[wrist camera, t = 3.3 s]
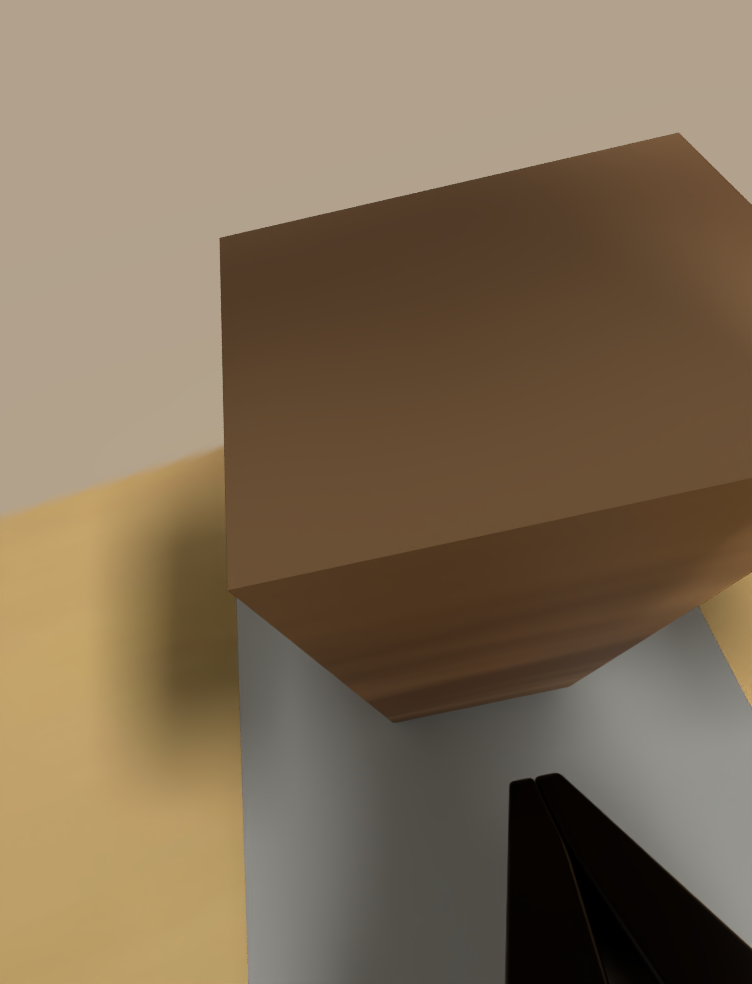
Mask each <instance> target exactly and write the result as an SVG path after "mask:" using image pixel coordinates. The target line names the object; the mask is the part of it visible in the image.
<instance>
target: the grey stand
mask: <svg viewBox="0 0 752 984" xmlns="http://www.w3.org/2000/svg"><path fill="white" fill-rule="evenodd" d="M236 604H237V636H238V667H239V699H240V731H241V763H242V795H243V827H244V858H245V890H246V922H247V954H248V984H505V942H506V897H507V852H508V807H509V784H510V782H512V781H515V780H520V779H525V778H532V779H534V780H535V778H536V777H537V776H540V775H545V774H550V773H560V774H561V775H563V776H564V777H565V778H566V779H567V780H568V781H569V782H570V783H571V784H573V785H574V786H575V787H576V788H577V789H578V790H579V791H580V792H581V793H582V794H584V795H585V796H586V797H587V798H588V799H589V800H590V801H591V802H592V803H593V804H594V805H596V806H597V807H598V808H599V809H600V810H601V811H602V812H603V813H604V814H605V815H607V816H608V817H609V818H610V819H611V820H612V821H613V822H614V823H615V824H616V825H618V826H619V827H620V828H621V829H622V830H623V831H624V832H625V833H626V834H627V835H628V836H630V837H631V838H632V839H633V840H634V841H635V842H636V843H637V844H638V845H639V846H641V847H642V848H643V849H644V850H645V851H646V852H647V853H648V854H649V855H650V856H651V857H653V858H654V859H655V860H656V861H657V862H658V863H659V864H660V865H661V866H662V867H664V868H665V869H666V870H667V871H668V872H669V873H670V874H671V875H672V876H673V877H674V878H676V879H677V880H678V881H679V882H680V883H681V884H682V885H683V886H684V887H685V888H687V889H688V890H689V891H690V892H691V893H692V894H693V895H694V896H695V897H696V898H698V899H699V900H700V901H701V902H702V903H703V904H704V905H705V906H706V907H707V908H708V909H710V910H711V911H712V912H713V913H714V914H715V915H716V916H717V917H718V918H719V919H721V920H722V921H723V922H724V923H725V924H726V925H727V926H728V927H729V928H730V929H731V930H733V931H734V932H735V933H736V934H737V935H738V936H739V937H740V938H741V939H742V940H744V941H745V942H746V943H747V944H748V945H749V946H750V947H751V948H752V708H751V706H750V704H749V702H748V700H747V698H746V696H745V694H744V692H743V690H742V689H741V687H740V685H739V683H738V681H737V679H736V677H735V675H734V673H733V671H732V669H731V668H730V666H729V664H728V662H727V660H726V658H725V656H724V654H723V652H722V650H721V648H720V646H719V645H718V643H717V641H716V639H715V637H714V635H713V633H712V631H711V629H710V627H709V625H708V624H707V622H706V620H705V618H704V616H703V614H702V612H701V610H700V608H699V606H697V607H695V608H694V609H692V610H691V611H689V612H687V613H686V614H684V615H683V616H681V617H679V618H678V619H676V620H675V621H673V622H672V623H670V624H668V625H667V626H665V627H664V628H662V629H660V630H659V631H657V632H656V633H654V634H652V635H651V636H649V637H648V638H646V639H644V640H643V641H641V642H640V643H638V644H637V645H635V646H633V647H632V648H630V649H629V650H627V651H625V652H624V653H622V654H621V655H619V656H617V657H616V658H614V659H613V660H611V661H609V662H608V663H606V664H605V665H603V666H602V667H600V668H598V669H597V670H595V671H594V672H592V673H590V674H589V675H587V676H586V677H584V678H582V679H581V680H579V681H578V682H576V683H574V684H573V685H571V686H570V687H566V688H561V689H556V690H551V691H546V692H542V693H537V694H532V695H527V696H522V697H517V698H513V699H508V700H503V701H498V702H493V703H489V704H484V705H479V706H474V707H469V708H464V709H460V710H455V711H450V712H445V713H440V714H435V715H431V716H426V717H421V718H416V719H411V720H406V721H402V722H397V723H393V722H391V721H390V720H389V719H388V718H386V717H385V716H384V715H383V714H381V713H380V712H379V711H378V710H376V709H375V708H374V707H373V706H371V705H370V704H369V703H368V702H366V701H365V700H364V699H363V698H361V697H360V696H359V695H358V694H356V693H355V692H354V691H353V690H351V689H350V688H349V687H348V686H346V685H345V684H344V683H343V682H341V681H340V680H339V679H338V678H336V677H335V676H334V675H333V674H331V673H330V672H329V671H328V670H326V669H325V668H324V667H323V666H321V665H320V664H319V663H318V662H316V661H315V660H314V659H313V658H311V657H310V656H309V655H308V654H306V653H305V652H304V651H303V650H301V649H300V648H299V647H298V646H296V645H295V644H294V643H293V642H291V641H290V640H289V639H288V638H286V637H285V636H284V635H283V634H281V633H280V632H279V631H278V630H276V629H275V628H274V627H273V626H271V625H270V624H269V623H268V622H266V621H265V620H264V619H263V618H261V617H260V616H259V615H258V614H256V613H255V612H254V611H253V610H251V609H250V608H249V607H248V606H247V605H245V604H244V603H243V602H242V601H240V600H239V599H238V598H237V597H236Z"/></svg>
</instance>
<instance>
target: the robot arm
mask: <svg viewBox="0 0 752 984" xmlns="http://www.w3.org/2000/svg"><path fill="white" fill-rule="evenodd" d="M505 984H752V948H751V947H750V946H749V945H748V944H747V943H746V942H745V941H744V940H742V939H741V938H740V937H739V936H738V935H737V934H736V933H735V932H734V931H733V930H731V929H730V928H729V927H728V926H727V925H726V924H725V923H724V922H723V921H722V920H721V919H719V918H718V917H717V916H716V915H715V914H714V913H713V912H712V911H711V910H710V909H708V908H707V907H706V906H705V905H704V904H703V903H702V902H701V901H700V900H699V899H698V898H696V897H695V896H694V895H693V894H692V893H691V892H690V891H689V890H688V889H687V888H685V887H684V886H683V885H682V884H681V883H680V882H679V881H678V880H677V879H676V878H674V877H673V876H672V875H671V874H670V873H669V872H668V871H667V870H666V869H665V868H664V867H662V866H661V865H660V864H659V863H658V862H657V861H656V860H655V859H654V858H653V857H651V856H650V855H649V854H648V853H647V852H646V851H645V850H644V849H643V848H642V847H641V846H639V845H638V844H637V843H636V842H635V841H634V840H633V839H632V838H631V837H630V836H628V835H627V834H626V833H625V832H624V831H623V830H622V829H621V828H620V827H619V826H618V825H616V824H615V823H614V822H613V821H612V820H611V819H610V818H609V817H608V816H607V815H605V814H604V813H603V812H602V811H601V810H600V809H599V808H598V807H597V806H596V805H594V804H593V803H592V802H591V801H590V800H589V799H588V798H587V797H586V796H585V795H584V794H582V793H581V792H580V791H579V790H578V789H577V788H576V787H575V786H574V785H573V784H571V783H570V782H569V781H568V780H567V779H566V778H565V777H564V776H563V775H561V774H560V773H550V774H545V775H540V776H537V777H536V778H535V780H534V779H532V778H525V779H520V780H515V781H512V782H510V784H509V807H508V852H507V897H506V942H505Z"/></svg>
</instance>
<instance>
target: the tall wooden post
mask: <svg viewBox="0 0 752 984" xmlns="http://www.w3.org/2000/svg"><path fill="white" fill-rule="evenodd" d="M220 276H221V320H222V366H223V410H224V411H223V412H224V457H225V503H226V548H227V590H228V591H229V592H230V593H232V594H233V595H234V596H235V597H237V598H238V599H239V600H240V601H242V602H243V603H244V604H245V605H247V606H248V607H249V608H250V609H251V610H253V611H254V612H255V613H256V614H258V615H259V616H260V617H261V618H263V619H264V620H265V621H266V622H268V623H269V624H270V625H271V626H273V627H274V628H275V629H276V630H278V631H279V632H280V633H281V634H283V635H284V636H285V637H286V638H288V639H289V640H290V641H291V642H293V643H294V644H295V645H296V646H298V647H299V648H300V649H301V650H303V651H304V652H305V653H306V654H308V655H309V656H310V657H311V658H313V659H314V660H315V661H316V662H318V663H319V664H320V665H321V666H323V667H324V668H325V669H326V670H328V671H329V672H330V673H331V674H333V675H334V676H335V677H336V678H338V679H339V680H340V681H341V682H343V683H344V684H345V685H346V686H348V687H349V688H350V689H351V690H353V691H354V692H355V693H356V694H358V695H359V696H360V697H361V698H363V699H364V700H365V701H366V702H368V703H369V704H370V705H371V706H373V707H374V708H375V709H376V710H378V711H379V712H380V713H381V714H383V715H384V716H385V717H386V718H388V719H389V720H390V721H391V722H393V723H397V722H402V721H406V720H411V719H416V718H421V717H426V716H431V715H435V714H440V713H445V712H450V711H455V710H460V709H464V708H469V707H474V706H479V705H484V704H489V703H493V702H498V701H503V700H508V699H513V698H517V697H522V696H527V695H532V694H537V693H542V692H546V691H551V690H556V689H561V688H566V687H570V686H571V685H573V684H574V683H576V682H578V681H579V680H581V679H582V678H584V677H586V676H587V675H589V674H590V673H592V672H594V671H595V670H597V669H598V668H600V667H602V666H603V665H605V664H606V663H608V662H609V661H611V660H613V659H614V658H616V657H617V656H619V655H621V654H622V653H624V652H625V651H627V650H629V649H630V648H632V647H633V646H635V645H637V644H638V643H640V642H641V641H643V640H644V639H646V638H648V637H649V636H651V635H652V634H654V633H656V632H657V631H659V630H660V629H662V628H664V627H665V626H667V625H668V624H670V623H672V622H673V621H675V620H676V619H678V618H679V617H681V616H683V615H684V614H686V613H687V612H689V611H691V610H692V609H694V608H695V607H697V606H699V605H700V604H702V603H703V602H705V601H707V600H708V599H710V598H711V597H713V596H715V595H716V594H718V593H719V592H721V591H722V590H724V589H726V588H727V587H729V586H730V585H732V584H734V583H735V582H737V581H738V580H740V579H742V578H743V577H745V576H746V575H748V574H750V573H751V572H752V205H751V204H750V203H749V202H748V201H747V200H746V199H745V198H744V197H743V196H742V195H741V194H740V193H739V192H738V191H737V190H736V189H735V188H734V187H733V186H732V185H731V184H730V183H729V182H728V181H727V180H726V179H725V178H724V177H723V176H722V175H721V174H720V173H719V172H718V171H717V170H716V169H715V168H714V167H713V166H712V165H711V164H710V163H709V162H708V161H707V160H706V159H705V158H704V157H703V156H702V155H701V154H700V153H699V152H698V151H697V150H696V149H695V148H694V147H693V146H692V145H691V144H690V143H688V141H686V139H684V138H683V136H682V135H680V134H679V133H675V134H671V135H667V136H662V137H658V138H653V139H650V140H645V141H640V142H636V143H632V144H628V145H623V146H619V147H614V148H610V149H606V150H601V151H597V152H592V153H588V154H584V155H579V156H575V157H571V158H566V159H562V160H558V161H553V162H549V163H544V164H540V165H536V166H531V167H527V168H523V169H519V170H514V171H509V172H505V173H501V174H496V175H492V176H488V177H483V178H479V179H475V180H470V181H466V182H462V183H457V184H453V185H449V186H444V187H440V188H436V189H431V190H427V191H423V192H418V193H414V194H409V195H405V196H400V197H396V198H392V199H387V200H383V201H379V202H375V203H370V204H366V205H361V206H357V207H353V208H348V209H344V210H340V211H335V212H331V213H326V214H322V215H318V216H313V217H309V218H305V219H301V220H296V221H292V222H287V223H283V224H278V225H274V226H270V227H265V228H261V229H257V230H252V231H248V232H243V233H239V234H235V235H230V236H226V237H222V238H220Z"/></svg>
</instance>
